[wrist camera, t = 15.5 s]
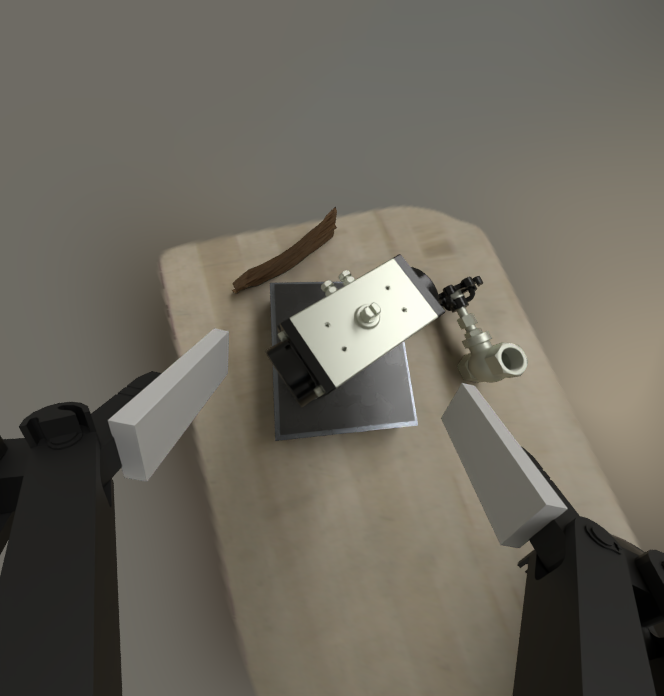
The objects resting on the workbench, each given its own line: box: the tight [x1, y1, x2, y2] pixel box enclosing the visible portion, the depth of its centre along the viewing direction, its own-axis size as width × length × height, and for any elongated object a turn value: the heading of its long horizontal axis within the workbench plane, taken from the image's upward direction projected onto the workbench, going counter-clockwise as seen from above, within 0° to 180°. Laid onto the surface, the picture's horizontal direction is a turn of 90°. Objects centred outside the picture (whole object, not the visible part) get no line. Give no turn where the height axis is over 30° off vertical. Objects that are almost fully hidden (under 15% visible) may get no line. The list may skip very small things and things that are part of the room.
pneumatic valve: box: [265, 254, 445, 408], centre depth 19 cm, size 6×12×12 cm, turn 125°
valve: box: [439, 276, 528, 383], centre depth 30 cm, size 7×7×12 cm
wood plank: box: [232, 207, 337, 293], centre depth 30 cm, size 15×2×5 cm, turn 132°
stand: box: [270, 282, 418, 441], centre depth 27 cm, size 16×14×5 cm
